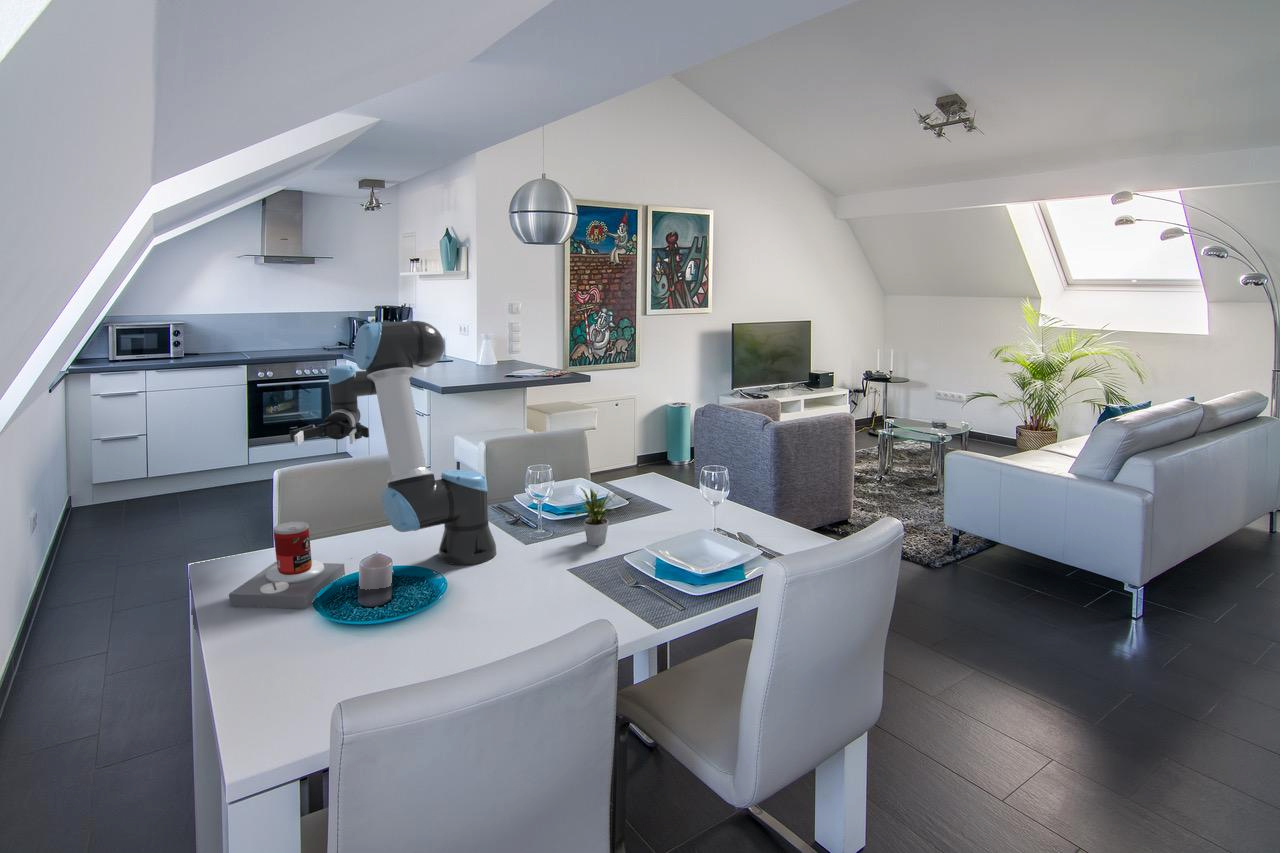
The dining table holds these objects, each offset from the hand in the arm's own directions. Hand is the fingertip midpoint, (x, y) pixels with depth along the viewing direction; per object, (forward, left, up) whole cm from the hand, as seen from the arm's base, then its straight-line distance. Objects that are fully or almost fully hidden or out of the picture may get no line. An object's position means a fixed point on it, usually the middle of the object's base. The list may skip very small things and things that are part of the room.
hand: (323, 440), depth 203 cm
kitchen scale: (0, +23, -32) cm, 39 cm away
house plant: (-68, -16, -32) cm, 77 cm away
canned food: (0, +20, -28) cm, 34 cm away
